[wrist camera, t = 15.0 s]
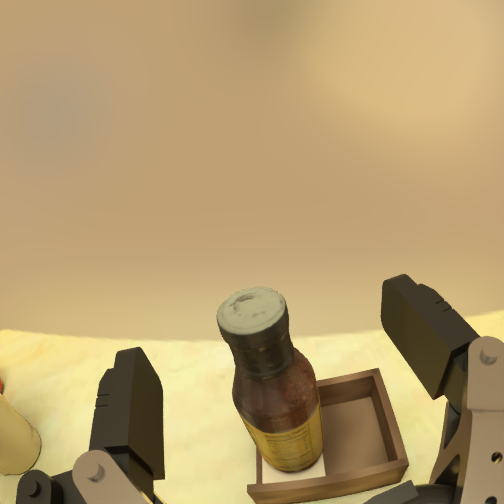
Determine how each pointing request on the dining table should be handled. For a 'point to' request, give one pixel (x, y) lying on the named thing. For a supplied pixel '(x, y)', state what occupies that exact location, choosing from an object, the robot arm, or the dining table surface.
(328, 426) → the box
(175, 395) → the dining table surface
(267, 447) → the sauce bottle
